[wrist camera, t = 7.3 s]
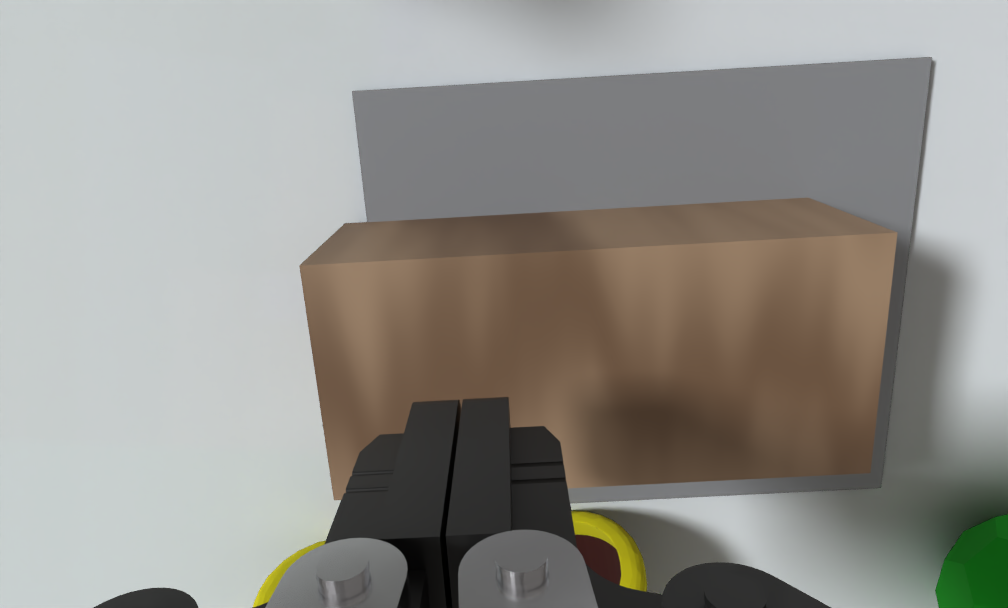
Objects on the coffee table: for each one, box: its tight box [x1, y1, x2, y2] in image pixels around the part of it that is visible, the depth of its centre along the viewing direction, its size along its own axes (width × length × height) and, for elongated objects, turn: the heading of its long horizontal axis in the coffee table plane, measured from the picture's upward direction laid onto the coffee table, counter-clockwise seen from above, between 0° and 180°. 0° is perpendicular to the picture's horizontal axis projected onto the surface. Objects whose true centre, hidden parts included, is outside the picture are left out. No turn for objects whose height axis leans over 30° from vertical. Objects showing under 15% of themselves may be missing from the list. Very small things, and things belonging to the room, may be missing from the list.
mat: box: [352, 57, 932, 503], centre depth 18 cm, size 11×13×1 cm
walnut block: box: [300, 198, 897, 500], centre depth 16 cm, size 5×4×11 cm
